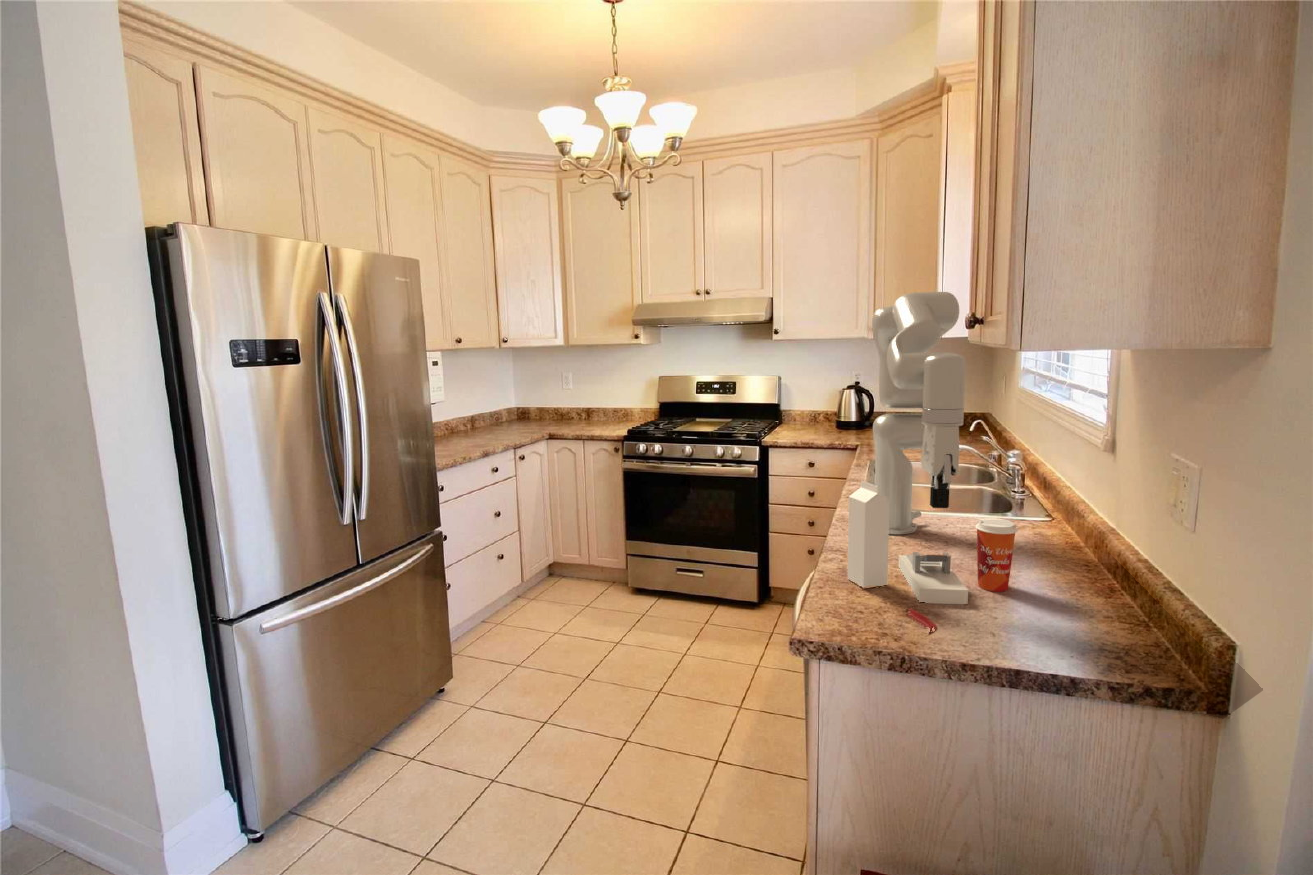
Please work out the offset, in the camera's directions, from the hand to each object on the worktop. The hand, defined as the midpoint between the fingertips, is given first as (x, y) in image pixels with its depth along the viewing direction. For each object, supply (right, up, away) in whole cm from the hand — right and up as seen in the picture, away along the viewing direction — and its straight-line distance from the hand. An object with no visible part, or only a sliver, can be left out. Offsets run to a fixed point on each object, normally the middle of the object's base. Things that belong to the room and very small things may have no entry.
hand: (939, 506), depth 132 cm
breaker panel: (+1, -17, +7) cm, 19 cm away
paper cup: (+13, -18, +5) cm, 23 cm away
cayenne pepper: (-8, -21, -10) cm, 25 cm away
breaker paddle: (+1, -12, +6) cm, 13 cm away
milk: (-12, -18, +9) cm, 23 cm away
